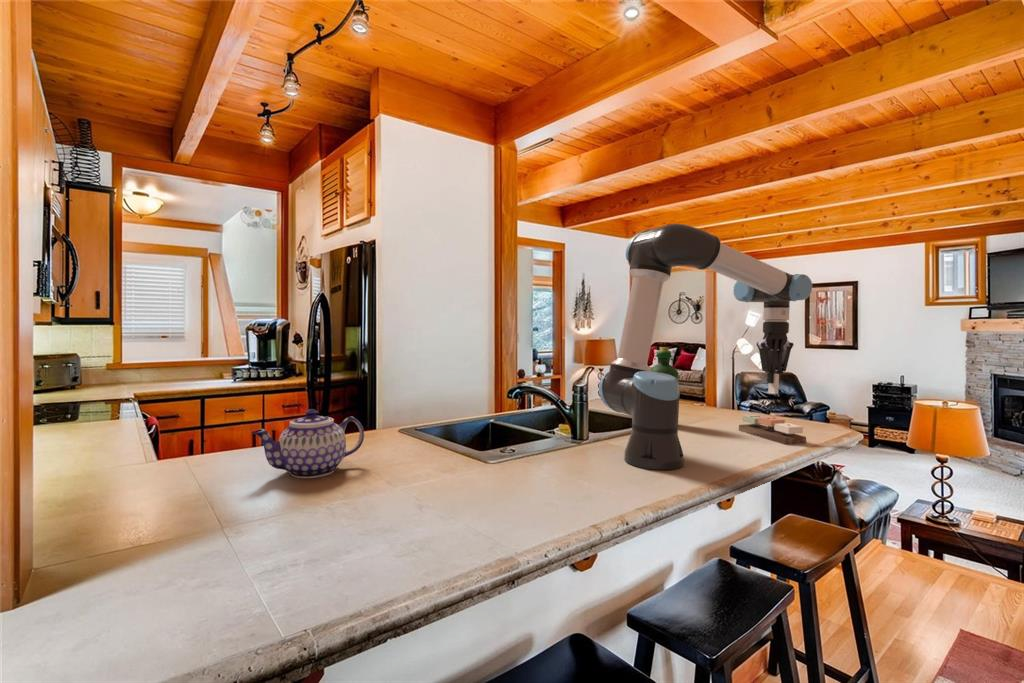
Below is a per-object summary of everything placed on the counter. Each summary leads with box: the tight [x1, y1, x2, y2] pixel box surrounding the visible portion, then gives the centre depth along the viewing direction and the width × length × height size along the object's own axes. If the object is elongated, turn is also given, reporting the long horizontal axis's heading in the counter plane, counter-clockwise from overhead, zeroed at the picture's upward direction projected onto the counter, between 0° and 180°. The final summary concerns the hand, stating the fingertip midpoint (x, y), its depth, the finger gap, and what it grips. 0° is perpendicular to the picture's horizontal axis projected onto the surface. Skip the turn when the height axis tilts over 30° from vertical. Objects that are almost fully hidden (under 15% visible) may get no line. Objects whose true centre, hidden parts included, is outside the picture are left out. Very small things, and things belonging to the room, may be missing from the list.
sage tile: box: [742, 414, 763, 427], centre depth 171 cm, size 6×6×4 cm
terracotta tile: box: [758, 416, 786, 432], centre depth 164 cm, size 6×6×4 cm
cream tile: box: [774, 422, 804, 437], centre depth 158 cm, size 6×6×4 cm
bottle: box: [650, 346, 680, 381], centre depth 180 cm, size 11×11×28 cm
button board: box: [738, 423, 807, 445], centre depth 165 cm, size 8×20×2 cm, turn 17°
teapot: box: [253, 408, 365, 479], centre depth 118 cm, size 25×15×15 cm, turn 125°
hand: (773, 393), depth 164 cm, fingers closed
